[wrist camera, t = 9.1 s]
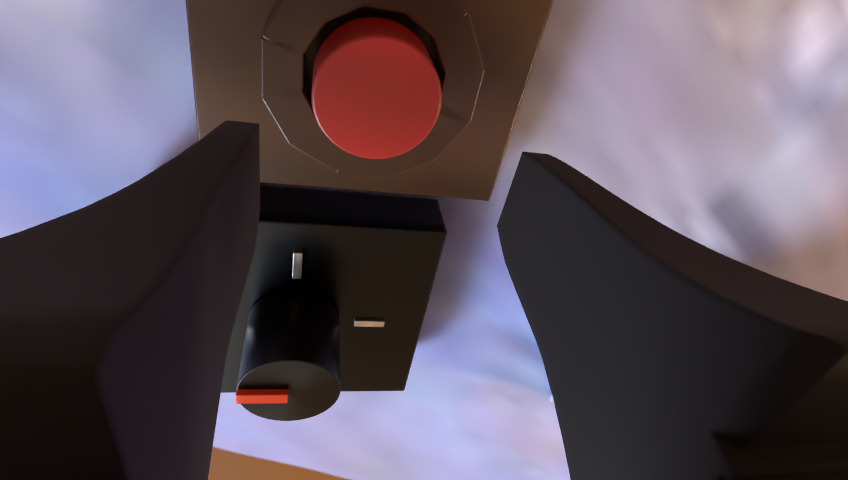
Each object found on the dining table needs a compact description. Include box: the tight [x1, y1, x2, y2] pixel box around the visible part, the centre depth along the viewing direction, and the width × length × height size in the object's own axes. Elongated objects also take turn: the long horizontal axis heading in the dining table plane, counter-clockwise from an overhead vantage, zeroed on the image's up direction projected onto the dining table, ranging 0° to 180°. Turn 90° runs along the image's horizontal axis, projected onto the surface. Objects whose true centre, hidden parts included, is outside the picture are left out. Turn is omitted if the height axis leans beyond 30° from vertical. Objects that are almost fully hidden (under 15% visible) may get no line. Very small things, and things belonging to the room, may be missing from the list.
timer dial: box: [236, 290, 341, 421], centre depth 21 cm, size 4×4×4 cm
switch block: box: [186, 0, 553, 201], centre depth 16 cm, size 10×11×4 cm
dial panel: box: [221, 186, 447, 392], centre depth 24 cm, size 11×12×3 cm
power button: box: [311, 17, 442, 159], centre depth 15 cm, size 4×4×2 cm
